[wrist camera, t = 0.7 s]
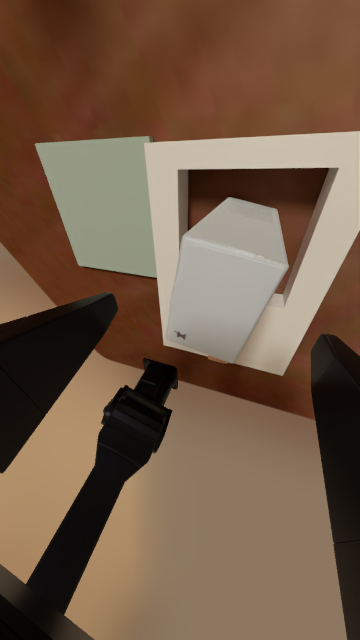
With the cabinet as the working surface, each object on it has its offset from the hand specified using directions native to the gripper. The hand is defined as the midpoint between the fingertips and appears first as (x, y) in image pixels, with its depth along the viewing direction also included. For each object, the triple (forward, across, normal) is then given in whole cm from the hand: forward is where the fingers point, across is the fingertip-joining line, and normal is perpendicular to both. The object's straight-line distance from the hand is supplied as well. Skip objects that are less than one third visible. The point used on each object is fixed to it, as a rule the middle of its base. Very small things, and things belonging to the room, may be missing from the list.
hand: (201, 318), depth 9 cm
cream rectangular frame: (+12, 0, +5) cm, 13 cm away
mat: (+12, +14, -1) cm, 19 cm away
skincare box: (+13, 0, 0) cm, 13 cm away
